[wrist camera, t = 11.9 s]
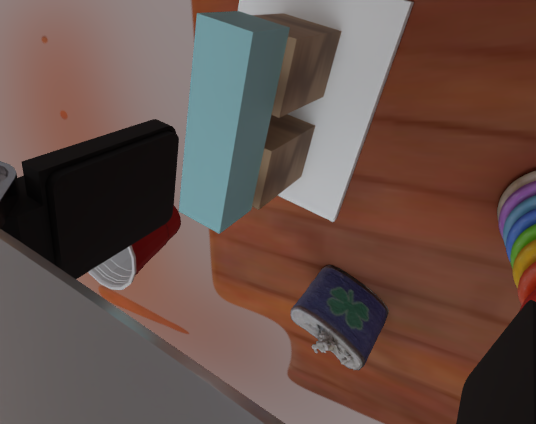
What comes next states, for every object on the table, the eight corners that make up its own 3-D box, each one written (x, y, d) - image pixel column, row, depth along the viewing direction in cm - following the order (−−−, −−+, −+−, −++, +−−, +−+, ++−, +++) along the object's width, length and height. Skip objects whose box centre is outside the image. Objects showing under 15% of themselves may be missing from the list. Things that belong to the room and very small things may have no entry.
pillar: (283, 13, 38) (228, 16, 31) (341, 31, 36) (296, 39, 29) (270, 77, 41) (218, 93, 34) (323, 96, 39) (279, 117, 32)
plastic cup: (200, 200, 55) (133, 241, 46) (190, 258, 61) (130, 305, 52) (140, 166, 58) (67, 198, 49) (137, 225, 65) (71, 263, 55)
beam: (239, 11, 31) (197, 13, 27) (289, 27, 29) (253, 32, 25) (213, 190, 39) (178, 211, 36) (251, 209, 38) (219, 233, 34)
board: (251, -41, 39) (245, -42, 38) (414, 2, 33) (411, 2, 33) (220, 163, 51) (215, 165, 50) (336, 218, 45) (333, 222, 45)
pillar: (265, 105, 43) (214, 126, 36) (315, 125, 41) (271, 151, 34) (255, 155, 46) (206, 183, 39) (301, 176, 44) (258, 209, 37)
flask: (318, 272, 50) (277, 327, 42) (330, 258, 48) (289, 311, 40) (381, 322, 48) (350, 388, 40) (395, 308, 47) (366, 375, 38)
